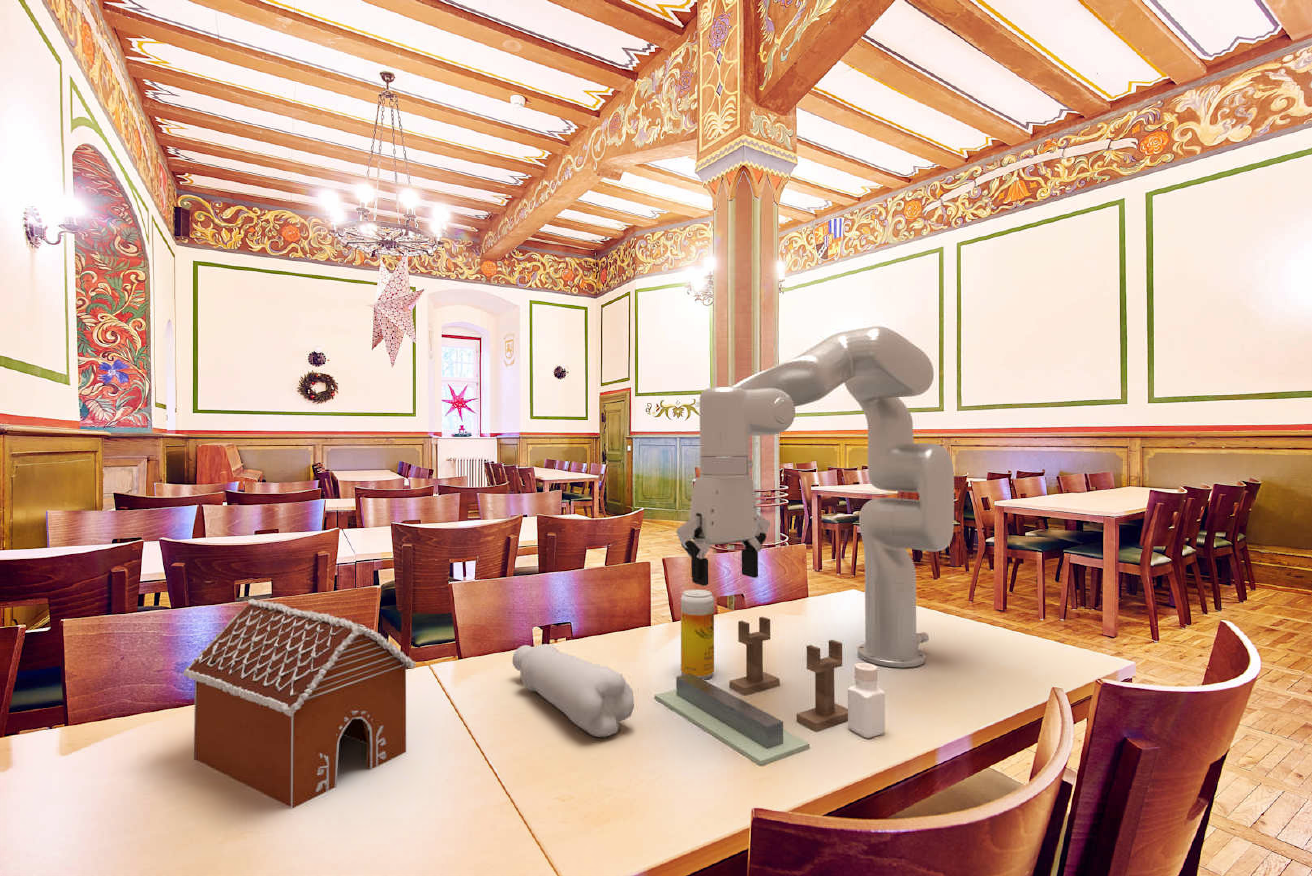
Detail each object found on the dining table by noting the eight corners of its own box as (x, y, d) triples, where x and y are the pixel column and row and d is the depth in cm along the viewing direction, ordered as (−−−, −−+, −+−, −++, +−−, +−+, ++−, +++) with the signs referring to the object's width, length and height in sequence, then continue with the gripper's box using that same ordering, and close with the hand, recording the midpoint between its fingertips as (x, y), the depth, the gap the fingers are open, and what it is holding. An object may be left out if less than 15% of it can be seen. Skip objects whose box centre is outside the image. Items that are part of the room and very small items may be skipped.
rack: (764, 678, 112) (763, 614, 112) (853, 719, 95) (852, 643, 95) (729, 687, 107) (729, 621, 108) (816, 731, 91) (815, 652, 91)
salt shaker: (866, 740, 88) (866, 673, 88) (846, 729, 91) (845, 664, 92) (886, 734, 90) (886, 668, 90) (865, 723, 93) (865, 660, 94)
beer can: (712, 682, 110) (711, 597, 110) (678, 679, 111) (678, 595, 112) (715, 670, 116) (715, 589, 116) (683, 668, 117) (683, 588, 118)
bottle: (649, 705, 92) (555, 658, 116) (619, 660, 89) (530, 621, 113) (606, 755, 87) (518, 695, 111) (574, 709, 85) (490, 658, 109)
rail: (676, 695, 103) (676, 676, 103) (691, 691, 104) (691, 673, 104) (767, 749, 84) (767, 726, 84) (783, 743, 86) (783, 721, 86)
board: (698, 687, 108) (698, 684, 108) (809, 748, 86) (809, 743, 86) (654, 698, 103) (654, 694, 103) (760, 765, 81) (760, 761, 81)
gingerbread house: (285, 819, 69) (287, 639, 70) (174, 761, 82) (177, 610, 83) (422, 750, 85) (423, 604, 86) (311, 711, 98) (313, 584, 99)
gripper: (751, 466, 103) (752, 569, 103) (664, 469, 94) (665, 582, 93) (783, 467, 96) (784, 577, 96) (693, 470, 87) (694, 592, 87)
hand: (725, 580), depth 95 cm, fingers open, 9 cm apart
